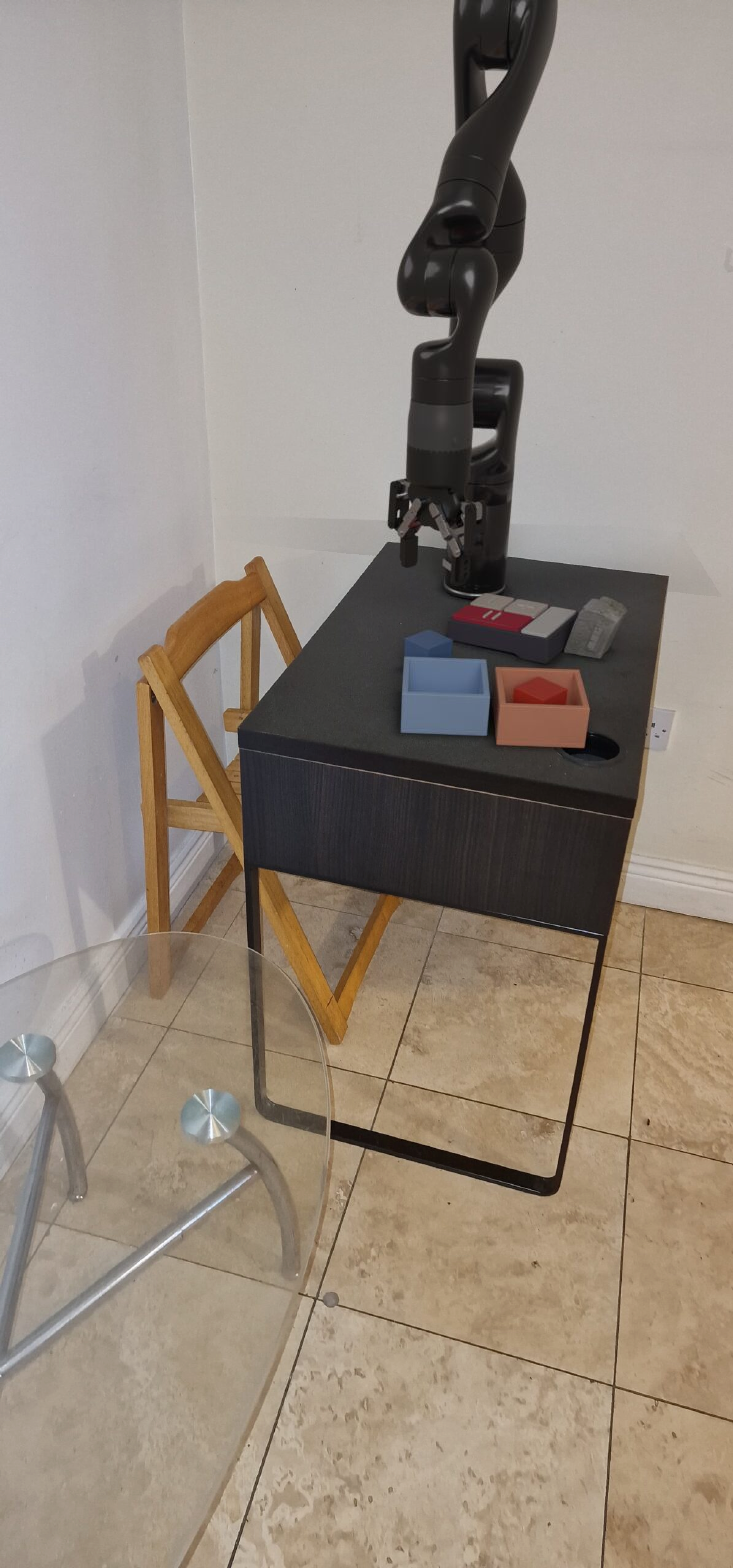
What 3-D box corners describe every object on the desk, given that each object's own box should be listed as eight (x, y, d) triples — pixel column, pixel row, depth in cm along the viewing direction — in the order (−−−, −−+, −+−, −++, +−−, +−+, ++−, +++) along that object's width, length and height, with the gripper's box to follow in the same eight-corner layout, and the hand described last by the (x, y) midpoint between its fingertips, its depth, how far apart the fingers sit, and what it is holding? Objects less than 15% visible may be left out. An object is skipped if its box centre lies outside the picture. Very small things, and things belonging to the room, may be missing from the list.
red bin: (492, 704, 125) (495, 666, 122) (574, 707, 125) (579, 669, 122) (496, 745, 117) (499, 705, 114) (584, 748, 116) (590, 708, 113)
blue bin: (402, 693, 127) (404, 656, 124) (483, 696, 127) (486, 659, 124) (400, 733, 119) (401, 693, 116) (486, 736, 118) (490, 696, 116)
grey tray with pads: (483, 589, 147) (581, 607, 140) (482, 617, 149) (579, 636, 142) (446, 614, 139) (548, 634, 132) (446, 643, 141) (546, 664, 134)
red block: (510, 720, 120) (513, 687, 118) (534, 709, 123) (538, 676, 120) (539, 734, 117) (543, 700, 115) (563, 722, 120) (568, 689, 118)
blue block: (403, 669, 133) (404, 638, 131) (427, 659, 136) (428, 629, 133) (427, 680, 130) (428, 649, 128) (451, 670, 133) (453, 639, 130)
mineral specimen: (556, 658, 135) (565, 597, 132) (573, 647, 142) (581, 589, 139) (612, 667, 132) (622, 605, 129) (625, 655, 139) (635, 596, 137)
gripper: (507, 447, 115) (496, 584, 124) (419, 424, 124) (414, 553, 132) (462, 457, 111) (453, 598, 119) (373, 433, 120) (371, 566, 128)
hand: (433, 575), depth 126 cm, fingers open, 8 cm apart
